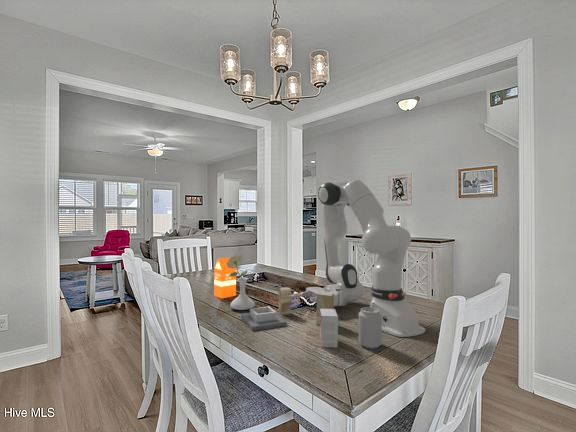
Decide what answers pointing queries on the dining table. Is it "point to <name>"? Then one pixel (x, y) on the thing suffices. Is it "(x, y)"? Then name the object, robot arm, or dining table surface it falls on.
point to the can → (370, 327)
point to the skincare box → (324, 303)
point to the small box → (328, 328)
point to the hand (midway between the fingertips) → (305, 297)
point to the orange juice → (224, 279)
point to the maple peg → (284, 301)
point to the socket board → (263, 318)
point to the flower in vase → (242, 300)
